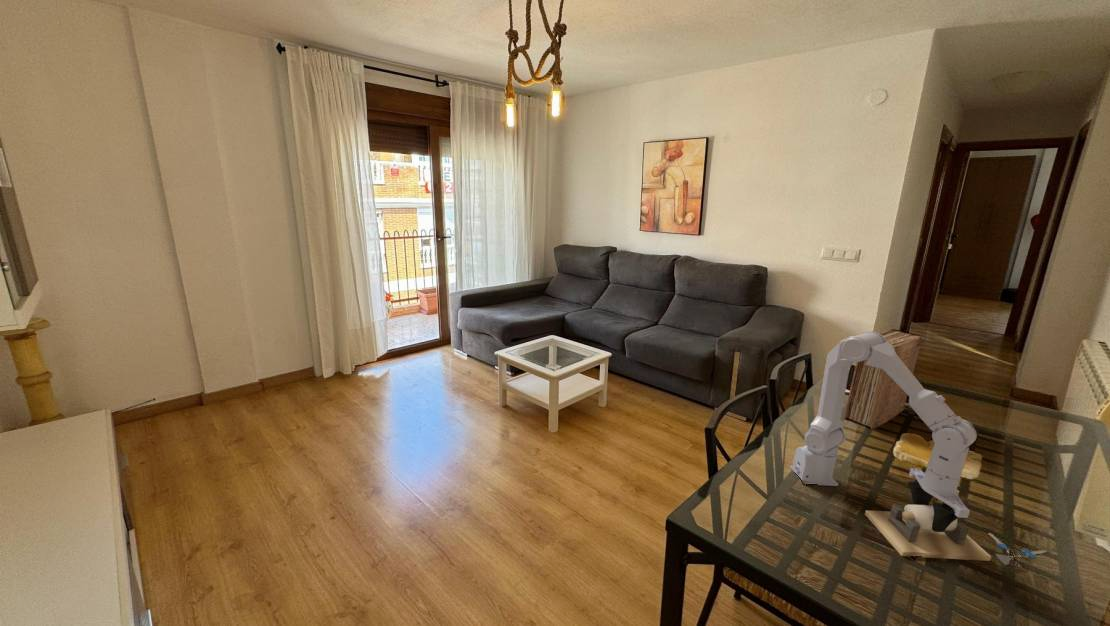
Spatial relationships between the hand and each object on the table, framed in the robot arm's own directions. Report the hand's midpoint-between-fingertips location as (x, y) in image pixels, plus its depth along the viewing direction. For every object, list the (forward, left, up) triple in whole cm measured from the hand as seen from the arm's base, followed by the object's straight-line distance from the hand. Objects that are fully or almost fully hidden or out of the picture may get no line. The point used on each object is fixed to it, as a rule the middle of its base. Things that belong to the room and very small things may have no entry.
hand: (928, 521), depth 103 cm
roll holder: (0, 0, -4) cm, 4 cm away
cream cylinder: (0, 0, +1) cm, 1 cm away
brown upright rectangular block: (+27, +60, -4) cm, 66 cm away
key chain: (+17, -2, -5) cm, 18 cm away
